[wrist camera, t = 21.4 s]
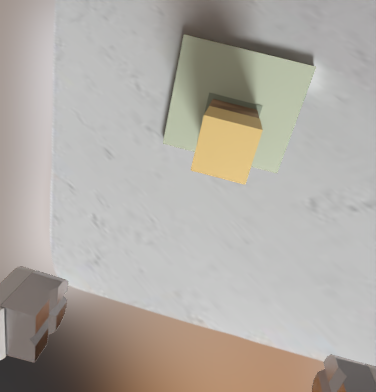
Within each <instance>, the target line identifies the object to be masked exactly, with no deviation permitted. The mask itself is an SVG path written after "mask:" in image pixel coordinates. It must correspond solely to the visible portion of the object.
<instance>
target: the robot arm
mask: <svg viewBox="0 0 376 392" xmlns="http://www.w3.org/2000/svg"><path fill="white" fill-rule="evenodd" d="M67 290H68V281H67V280H66V279H62V278H59V277H56V276H53V275H49V274H46V273H43V272H40V271H35V270H32V269H29V268H26V267H23V266H20V267H18V268H16V269H15V270H13V271H12V272H11V273H10V274H9V275H8V276H7V277H6V278H5V279H4V280H3V281H2V282H1V283H0V360H2V359H3V358H5V357H6V355H8V356H12V357H16V358H19V359H23V360H27V361H31V362H35V361H36V360H37V358H38V357H39V355H40V354H41V352H42V351H43V349H44V348H45V346H46V345H47V343H48V335H49V334H51V333H53V332H55V331H56V330H57V328H58V327H59V325H60V324H61V321H62V319H63V317H64V314H65V311H66V306H67V300H66V298H65V297H64V294H65V293H66V292H67ZM324 366H325V369H324V370H322V371H319V372H318V373H317V375H316V376H315V378H314V381H313V386H312V392H376V366H372V365H368V364H363V363H361V362H357V361H354V360H350V359H346V358H343V357H339V356H335V355H332V354H331V355H329V356H327V358H326V359H325V361H324Z"/></svg>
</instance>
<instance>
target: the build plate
mask: <svg viewBox="0 0 376 392" xmlns="http://www.w3.org/2000/svg"><path fill="white" fill-rule="evenodd" d="M315 69H316V67H315V66H311V65H307V64H303V63H299V62H295V61H291V60H287V59H283V58H279V57H275V56H270V55H266V54H262V53H258V52H254V51H250V50H246V49H242V48H238V47H234V46H230V45H226V44H222V43H218V42H213V41H209V40H205V39H201V38H197V37H193V36H189V35H185V34H184V36H183V41H182V46H181V51H180V57H179V62H178V67H177V72H176V77H175V82H174V88H173V93H172V98H171V103H170V108H169V114H168V119H167V124H166V129H165V134H164V140H163V144H166V145H170V146H174V147H178V148H182V149H185V150H189V151H193V152H195V150H196V146H197V141H198V137H199V133H200V129H201V125H202V121H203V116H204V114H205V112H206V110H207V109H208V107H209V105H210V103H211V101H212V100H213V99H216V100H220V101H224V102H228V103H232V104H236V105H240V106H244V107H248V108H252V109H256V110H257V111H258V115H259V118H260V121H261V125H262V129H263V131H262V134H261V138H260V141H259V144H258V147H257V150H256V153H255V156H254V159H253V162H252V165H251V167H254V168H258V169H262V170H266V171H270V172H273V173H277V172H278V169H279V167H280V164H281V161H282V159H283V156H284V153H285V150H286V148H287V145H288V142H289V139H290V137H291V134H292V131H293V129H294V126H295V123H296V120H297V118H298V115H299V112H300V109H301V107H302V104H303V101H304V99H305V96H306V93H307V90H308V88H309V85H310V82H311V80H312V77H313V74H314V71H315Z"/></svg>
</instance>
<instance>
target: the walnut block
mask: <svg viewBox="0 0 376 392" xmlns="http://www.w3.org/2000/svg"><path fill="white" fill-rule="evenodd" d="M209 106H212V107H216V108H220V109H224V110H228V111H232V112H236V113H240V114H244V115H248V116H252V117H256V118H259V115H258V111H257V110H256V109H252V108H248V107H244V106H240V105H236V104H232V103H228V102H224V101H220V100H216V99H213V100H212V101H211V103H210V105H209Z"/></svg>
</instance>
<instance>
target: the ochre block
mask: <svg viewBox="0 0 376 392" xmlns="http://www.w3.org/2000/svg"><path fill="white" fill-rule="evenodd" d="M262 131H263V129H262V125H261V121H260V118H256V117H252V116H248V115H244V114H240V113H236V112H232V111H228V110H224V109H220V108H216V107H212V106H209V107H208V109H207V110H206V112H205V114H204V116H203V121H202V125H201V129H200V133H199V137H198V141H197V146H196V150H195V154H194V158H193V162H192V167H191V170H192V171H195V172H199V173H203V174H207V175H211V176H214V177H218V178H222V179H226V180H230V181H233V182H237V183H241V184H246V181H247V178H248V174H249V171H250V168H251V165H252V162H253V159H254V156H255V153H256V150H257V147H258V144H259V141H260V138H261V134H262Z"/></svg>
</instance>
